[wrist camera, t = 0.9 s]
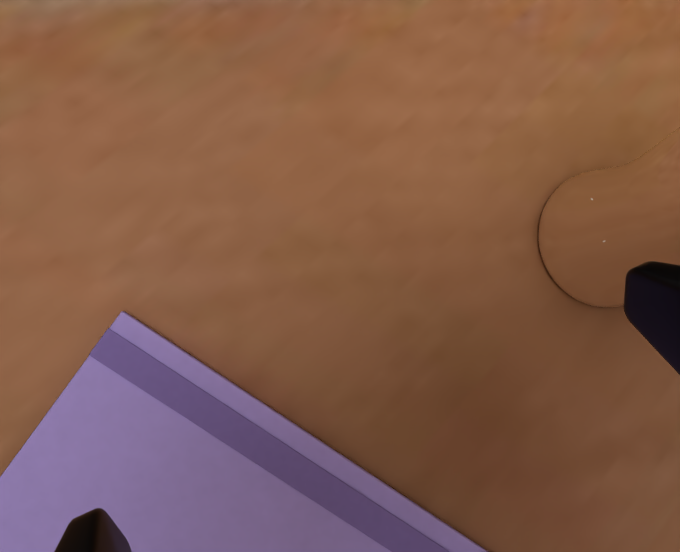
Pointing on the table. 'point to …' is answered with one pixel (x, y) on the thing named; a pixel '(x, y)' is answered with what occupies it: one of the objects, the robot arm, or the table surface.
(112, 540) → the robot arm
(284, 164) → the table surface
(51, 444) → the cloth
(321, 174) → the table surface
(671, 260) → the silver metal cup
